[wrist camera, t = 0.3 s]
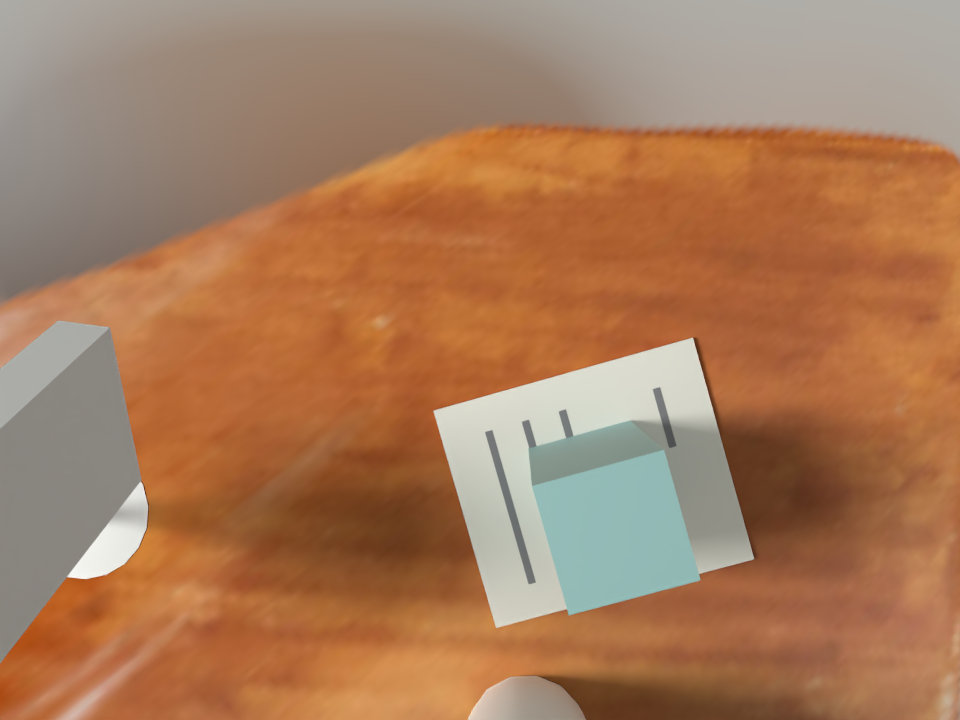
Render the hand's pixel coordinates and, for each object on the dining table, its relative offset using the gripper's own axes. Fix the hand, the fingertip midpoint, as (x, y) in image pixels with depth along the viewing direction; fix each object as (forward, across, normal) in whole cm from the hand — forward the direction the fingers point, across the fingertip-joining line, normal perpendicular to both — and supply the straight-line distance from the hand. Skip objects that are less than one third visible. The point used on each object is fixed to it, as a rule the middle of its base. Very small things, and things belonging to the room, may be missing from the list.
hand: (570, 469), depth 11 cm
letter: (+26, -2, +21) cm, 33 cm away
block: (+25, -2, +21) cm, 33 cm away
